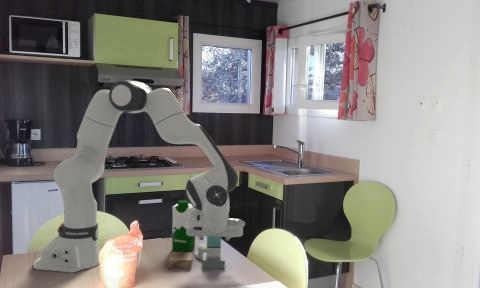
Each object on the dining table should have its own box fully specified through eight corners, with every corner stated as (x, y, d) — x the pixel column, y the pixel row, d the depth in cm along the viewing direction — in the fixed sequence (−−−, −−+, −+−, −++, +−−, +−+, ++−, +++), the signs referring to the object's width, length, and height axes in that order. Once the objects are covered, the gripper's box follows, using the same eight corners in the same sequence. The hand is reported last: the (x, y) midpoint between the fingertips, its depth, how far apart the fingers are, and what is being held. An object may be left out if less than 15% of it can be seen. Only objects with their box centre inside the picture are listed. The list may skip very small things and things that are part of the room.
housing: (206, 258, 157) (207, 235, 156) (206, 254, 161) (207, 232, 160) (220, 258, 157) (221, 235, 156) (220, 254, 161) (220, 232, 161)
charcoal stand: (202, 268, 155) (202, 260, 155) (202, 260, 163) (203, 252, 163) (224, 268, 156) (224, 260, 155) (224, 260, 164) (224, 253, 163)
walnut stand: (168, 268, 154) (168, 259, 154) (170, 259, 162) (170, 252, 162) (191, 268, 155) (191, 260, 155) (192, 260, 163) (192, 252, 163)
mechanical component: (191, 259, 164) (216, 262, 162) (191, 248, 164) (217, 251, 162) (199, 250, 174) (223, 253, 172) (199, 240, 174) (223, 242, 172)
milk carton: (169, 250, 172) (170, 201, 170) (177, 243, 181) (178, 196, 179) (190, 253, 170) (191, 203, 168) (197, 246, 179) (199, 198, 177)
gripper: (245, 212, 151) (242, 231, 162) (186, 211, 150) (187, 230, 160) (245, 228, 147) (242, 246, 158) (185, 227, 146) (186, 245, 156)
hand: (214, 238), depth 159 cm, fingers open, 8 cm apart
